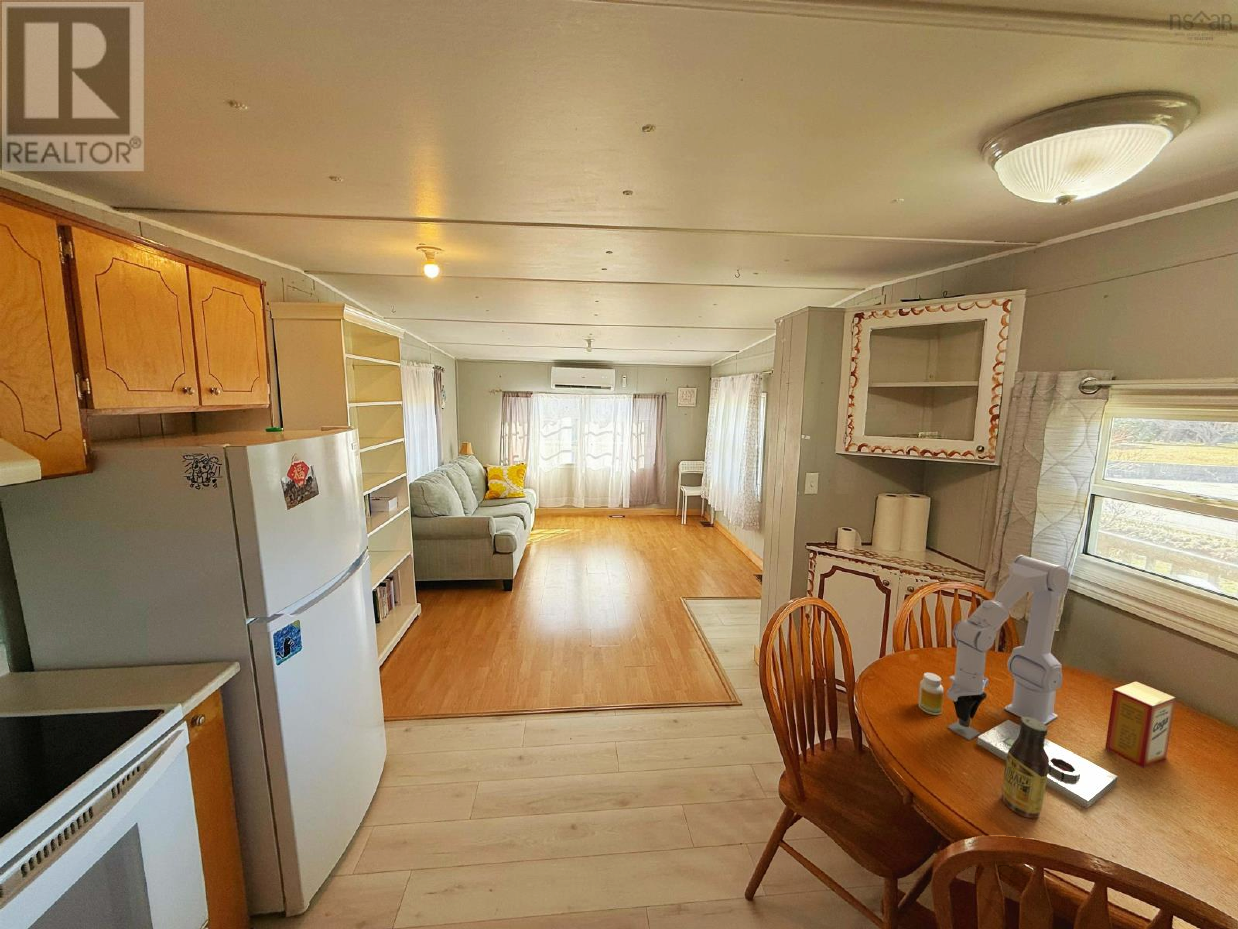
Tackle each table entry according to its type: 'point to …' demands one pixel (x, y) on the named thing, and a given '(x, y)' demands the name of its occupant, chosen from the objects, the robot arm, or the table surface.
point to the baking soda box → (1140, 723)
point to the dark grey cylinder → (963, 723)
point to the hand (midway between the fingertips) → (965, 717)
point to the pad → (1009, 742)
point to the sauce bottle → (1026, 770)
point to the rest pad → (964, 731)
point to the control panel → (1075, 783)
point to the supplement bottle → (931, 694)
